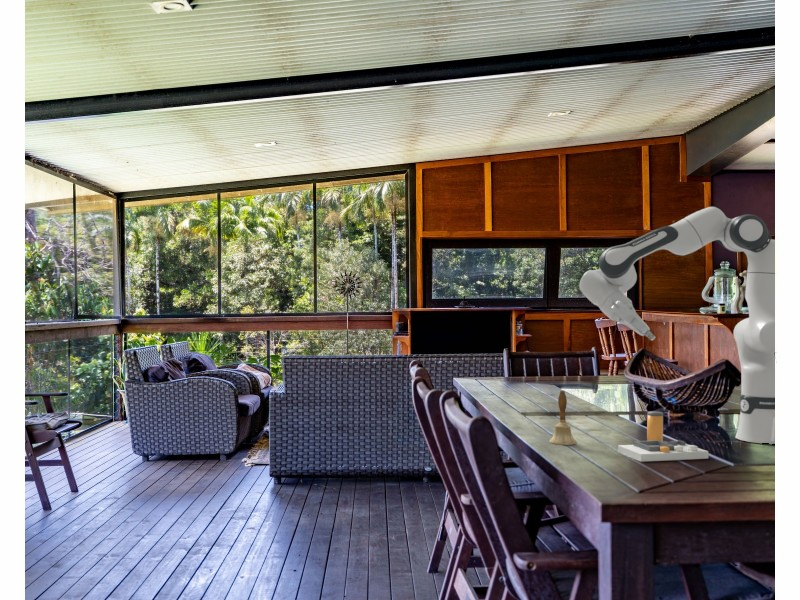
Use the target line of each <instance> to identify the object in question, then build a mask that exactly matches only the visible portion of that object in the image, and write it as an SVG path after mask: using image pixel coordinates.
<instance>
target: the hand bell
mask: <svg viewBox="0 0 800 600" xmlns="http://www.w3.org/2000/svg"><path fill="white" fill-rule="evenodd" d="M567 401H568V399H567V396H566V393H565V390H560V392H559V395H558V399H557V403H558V409H559V422H558V423H556V424H555V428H554V432H553V433H554V434H553V435H552V437H550V439H549V441H548V442H549V443H550V444H553V445H556V446H557V445H558V446H573V445H577V444H578V443H577V440H576V439H575V438H574V436H573V435H572V434H573V433H572V429H571V425H570V424H568V423H567V419H566V408H567V406H568V405H567V404H568V403H567Z"/></svg>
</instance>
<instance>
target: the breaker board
mask: <svg viewBox="0 0 800 600" xmlns="http://www.w3.org/2000/svg"><path fill="white" fill-rule="evenodd" d="M617 453H618V454H621V455H624V456H625V457H629V458H631V459H633V460H637V461H638V462H661V461H662V462H663V461H681V460H682V461H683V460H684V461H685V460H704V459H709V450H705V449H702V448H700V447H698V446H697V445H694V444H687V443H686V441H684V440H677V441H676V440H669V441H667V440H663V441H659V440H653V441H647V440H636V441H635V440H634V441H633V444H618V445H617Z"/></svg>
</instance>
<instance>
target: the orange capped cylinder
mask: <svg viewBox="0 0 800 600" xmlns="http://www.w3.org/2000/svg"><path fill="white" fill-rule="evenodd" d="M646 412H647V413H646V414H647V415H646V417H647V418H646V419H647V421H646V422H647V423H646V425H647V426H646V441H653V440H659V441H664V412H662V411H654V410H653V411H651V410H650V411H646Z"/></svg>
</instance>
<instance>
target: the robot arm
mask: <svg viewBox="0 0 800 600" xmlns="http://www.w3.org/2000/svg"><path fill="white" fill-rule="evenodd" d="M775 240H776V239H772V236H771V234H770V232H769V230H768V227H767V224H766V223H765V221H764V220H763V219H762V217H760V216H757V215H755V214H751V213H749V214H742V215H739V216H736V217H734V218H729V217H727V216H726V214H725V213H724V212H723V211H722V210H721V209H720V208H718V207H716V206H708V207H706V208H702V209H700V210H697V211H695V212H693V213H691V214H688V215H687V216H685V217H684V218H682V219H680V220H678V221H677V222H674V223H672V224H670V225H666V226H660V227H658V228H656V229H653V230H652V231H649V232H648V233H645V234H644V235H641V236H639V237H638V238H634V239H632V240H631V241H628V242H626V243H623V244H619V245H615V246H610V247H609V248H606V249H605V250H604V251H603V252H602V253H601V255H600V256H599V259H598V267H599V268H598V269H593V270H592V269H589V270H587V271H586V272H584V273H583V275H582V276H581V277H580V281H579V285H578V286H579V290H580V292H581V293H582V295H584V296H585V298H587V299H588V301H589V302H591V303H592V304H593V305H594V306H597V307H598V308H599V309H600V311H601V312H602V314H604V315H605V316H606V317H608V319H609V320H611V321H612V322H615V323H616V322H617V323H620V324H621V325H625V326H626V327H628V328H629V329H630V330H632V331H634V332H635V333H637V335H639V336H642V337H644V336H645V337H647V338H648V340H650V341H654V340H655V339H656V335H654V334H653V333H652V332H651V331H650V330H651V327H649V326H648V324H647V322H645V321H644V320H643V319H642V318H641V316H639V314H638V313H637V312H636V309H635V307H634V305H633V301H632V300H631V299H630V298H629V297H628V296H627V295H626V294H625V293H626V292H629V290H631V289H632V288H633V287H634V286H635V285H636V283H637V280H638V274H637V272H636V268H635V265H634V264H635V263H636V262H637V261H639V260H640V259H643V258H645V257H646V256H649V255H650V254H653V253H655V252H658V251H660V250H661V251H662V250H666V251H669V252H671V254H674V255H677V256H686V255H689V254H693V253H695V252H696V251H698V250H700V249H701V248H703V247H705V246H706V245H708V244H710V243H712V242H714V241H715V242H716V243H718V244H719V245H720V246H721V247H722V248H724V250H727V252H728V251H729V252H730V253H741V252H743V253H744V254H745V255H746V258H747V271H746V281H745V282H746V283H745V293H744V298H745V301H746V303H747V309H748V317H746V318H744V319H742V320H740V321H739V322H738V323H737V324H735V326H734V329H733V338H734V340H735V342H736V343H735V344H736V347H737V352H738V353H737V354H738V358H739V363H740V371H741V372H740V373H741V375H740V377H741V379H740V380H741V381H740V382H741V383H740V385H741V386H740V387H741V392H740V394H739V410H740V413H739V420H738V425H737V430H736V434H735V439H737V440H740V441H745V442H748V443H755V444H762V443H769V444H768V445H772V444H773V443H774V442H775V359H776V355H775V353H776V352H775Z"/></svg>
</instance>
